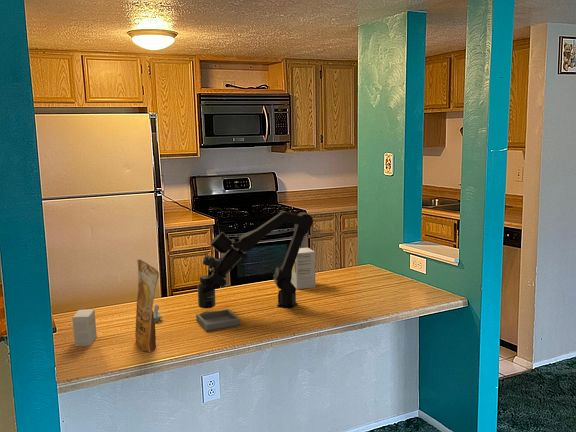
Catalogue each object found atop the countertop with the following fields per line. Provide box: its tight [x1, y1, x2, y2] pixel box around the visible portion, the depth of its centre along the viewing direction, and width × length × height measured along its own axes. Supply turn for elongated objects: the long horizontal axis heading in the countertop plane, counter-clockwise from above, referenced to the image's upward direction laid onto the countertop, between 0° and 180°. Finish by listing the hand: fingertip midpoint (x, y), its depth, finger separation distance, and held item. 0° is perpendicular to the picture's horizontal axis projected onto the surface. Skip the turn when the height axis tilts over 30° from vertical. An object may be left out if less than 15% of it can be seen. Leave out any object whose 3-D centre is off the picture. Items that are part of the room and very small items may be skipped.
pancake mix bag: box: [134, 259, 160, 353], centre depth 185 cm, size 7×19×28 cm, turn 26°
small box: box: [72, 308, 98, 347], centre depth 189 cm, size 8×6×10 cm
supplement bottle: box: [197, 274, 217, 309], centre depth 216 cm, size 7×7×12 cm
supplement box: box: [291, 247, 316, 290], centre depth 250 cm, size 10×9×17 cm
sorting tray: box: [195, 308, 241, 332], centre depth 205 cm, size 13×13×2 cm
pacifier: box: [153, 303, 163, 323], centre depth 210 cm, size 7×6×6 cm
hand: (202, 290), depth 216 cm, fingers closed on supplement bottle, 6 cm apart
